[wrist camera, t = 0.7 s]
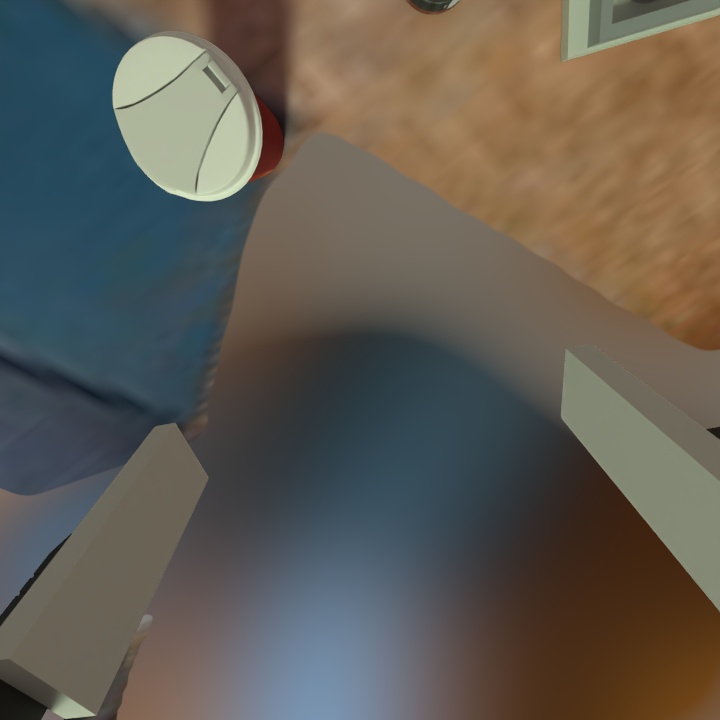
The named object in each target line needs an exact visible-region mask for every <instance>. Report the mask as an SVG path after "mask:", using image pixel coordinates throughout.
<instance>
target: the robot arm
mask: <svg viewBox="0 0 720 720" xmlns="http://www.w3.org/2000/svg"><path fill="white" fill-rule="evenodd" d="M561 418H562V419H563V421H564V422H565V423H566V424H567V426H568V427H569V428H570V429H571V430H572V432H573V433H574V434H575V435H576V437H577V438H578V439H579V440H580V441H581V443H582V444H583V445H584V446H585V447H586V449H587V450H588V451H589V452H590V454H592V456H593V457H594V458H595V460H596V461H597V462H598V463H599V464H600V466H601V467H602V468H603V469H604V471H605V472H606V473H607V474H608V475H609V477H610V478H611V479H612V480H613V481H614V483H615V484H616V485H617V486H618V488H619V489H620V490H621V491H622V492H623V494H624V495H625V496H626V497H627V499H628V500H629V501H630V502H631V503H632V505H633V506H634V507H635V508H636V510H637V511H638V512H639V513H640V514H641V516H642V517H643V518H644V519H645V521H646V522H647V523H648V524H649V525H650V527H651V528H652V529H653V530H654V532H655V533H656V534H657V535H658V536H659V538H660V539H661V540H662V541H663V543H664V544H665V545H666V546H667V547H668V549H669V550H670V551H671V552H672V554H673V555H674V556H675V557H676V558H677V560H678V561H679V562H680V563H681V565H682V566H683V567H684V568H685V569H686V571H687V572H688V573H689V574H690V575H691V577H692V578H693V579H694V580H695V581H696V583H697V584H698V585H699V586H700V588H701V589H702V590H703V591H704V592H705V594H706V595H707V596H708V597H709V599H710V600H711V601H712V602H713V603H714V605H715V606H716V607H717V608H718V610H719V611H720V427H716V428H710V429H705V428H703V427H702V426H700V425H699V424H698V423H697V422H695V421H694V420H692V419H691V418H690V417H689V416H687V415H686V414H685V413H683V412H682V411H681V410H679V409H678V408H677V407H675V406H674V405H672V404H671V403H670V402H669V401H667V400H666V399H665V398H663V397H662V396H660V395H659V394H658V393H657V392H655V391H654V390H652V389H651V388H650V387H649V386H647V385H646V384H644V383H643V382H642V381H641V380H639V379H638V378H637V377H635V376H634V375H633V374H631V373H629V372H628V371H627V370H626V369H625V368H623V367H622V366H621V365H619V364H618V363H616V362H615V361H614V360H612V359H611V358H610V357H609V356H607V355H606V354H604V353H603V352H602V351H600V350H599V349H598V348H596V347H595V346H594V345H592V344H588V345H583V346H577V347H572V348H567V349H566V355H565V368H564V381H563V395H562V408H561ZM207 480H208V477H207V474H206V473H205V471H204V470H203V468H202V466H201V465H200V463H199V461H198V460H197V458H196V456H195V455H194V453H193V451H192V450H191V448H190V446H189V445H188V443H187V441H186V440H185V438H184V437H183V435H182V433H181V432H180V430H179V428H178V427H177V425H176V423H172V424H167V425H161V426H156V427H154V429H153V430H152V431H151V432H150V434H149V435H148V436H147V438H146V439H145V440H144V441H143V443H142V444H141V445H140V447H139V448H138V449H137V450H136V452H135V453H134V454H133V456H132V457H131V458H130V460H129V461H128V462H127V463H126V465H125V466H124V467H123V469H122V470H121V471H120V472H119V474H118V475H117V476H116V478H115V479H114V480H113V482H112V483H111V484H110V486H109V487H108V488H107V489H106V491H105V492H104V493H103V494H102V496H101V497H100V498H99V500H98V501H97V502H96V504H95V505H94V506H93V507H92V509H91V510H90V512H89V513H88V514H87V515H86V516H85V518H84V519H83V520H82V522H81V523H80V524H79V526H78V527H77V528H76V530H75V531H74V532H73V533H72V534H70V535H69V536H68V537H67V538H66V539H65V540H64V541H63V542H62V543H60V544H59V545H58V546H57V547H56V548H55V549H54V550H53V551H52V552H51V553H50V554H49V555H48V556H47V558H46V559H45V560H44V561H43V563H42V564H41V565H40V566H39V568H38V569H37V570H36V572H35V573H34V577H33V578H30V579H29V580H28V582H27V583H26V584H25V585H24V587H23V588H22V589H21V590H20V594H19V596H16V597H15V598H14V599H13V600H12V602H11V603H10V604H9V606H8V607H7V608H6V609H5V611H4V612H3V613H2V614H1V616H0V720H41V719H42V717H43V715H44V713H45V712H46V710H47V709H49V710H51V711H53V712H54V713H56V714H58V715H59V716H61V717H63V718H64V719H68V718H77V717H87V716H96V715H97V713H98V711H99V709H100V707H101V705H102V703H103V700H104V698H105V696H106V694H107V692H108V690H109V688H110V686H111V683H112V681H113V679H114V677H115V675H116V673H117V671H118V669H119V667H120V664H121V662H122V660H123V658H124V656H125V654H126V652H127V650H128V648H129V645H130V643H131V641H132V639H133V637H134V635H135V633H136V631H137V628H138V626H139V624H140V622H141V620H142V618H143V616H144V614H145V611H146V609H147V607H148V605H149V603H150V601H151V599H152V597H153V595H154V593H155V590H156V588H157V586H158V584H159V582H160V580H161V578H162V576H163V573H164V571H165V569H166V567H167V565H168V563H169V561H170V559H171V557H172V554H173V552H174V550H175V548H176V546H177V544H178V542H179V540H180V538H181V535H182V533H183V531H184V529H185V527H186V525H187V523H188V521H189V518H190V516H191V514H192V512H193V510H194V508H195V506H196V504H197V501H198V499H199V497H200V495H201V493H202V491H203V489H204V486H205V485H206V483H207Z"/></svg>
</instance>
